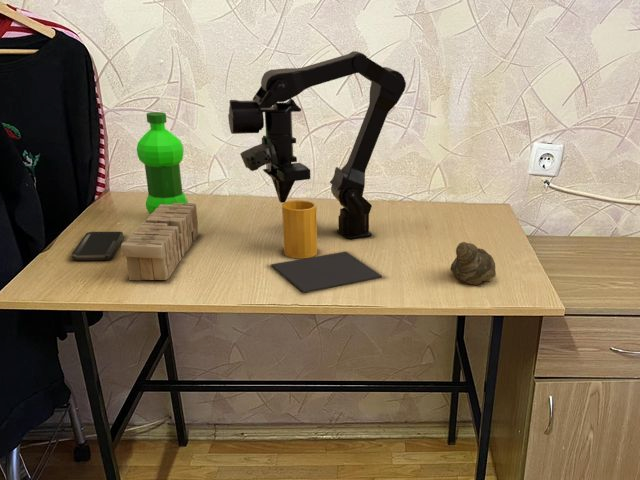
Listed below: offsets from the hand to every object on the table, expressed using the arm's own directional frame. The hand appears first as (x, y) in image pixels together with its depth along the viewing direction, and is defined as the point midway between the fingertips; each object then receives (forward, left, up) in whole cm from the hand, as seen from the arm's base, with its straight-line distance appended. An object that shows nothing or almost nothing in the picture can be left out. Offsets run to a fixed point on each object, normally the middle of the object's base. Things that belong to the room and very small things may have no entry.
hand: (282, 202), depth 164 cm
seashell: (-28, +39, -9) cm, 49 cm away
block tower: (+27, -1, -9) cm, 29 cm away
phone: (+38, -12, -9) cm, 41 cm away
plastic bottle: (+19, -26, -9) cm, 33 cm away
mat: (0, +22, -9) cm, 24 cm away
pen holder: (0, +9, -9) cm, 13 cm away
